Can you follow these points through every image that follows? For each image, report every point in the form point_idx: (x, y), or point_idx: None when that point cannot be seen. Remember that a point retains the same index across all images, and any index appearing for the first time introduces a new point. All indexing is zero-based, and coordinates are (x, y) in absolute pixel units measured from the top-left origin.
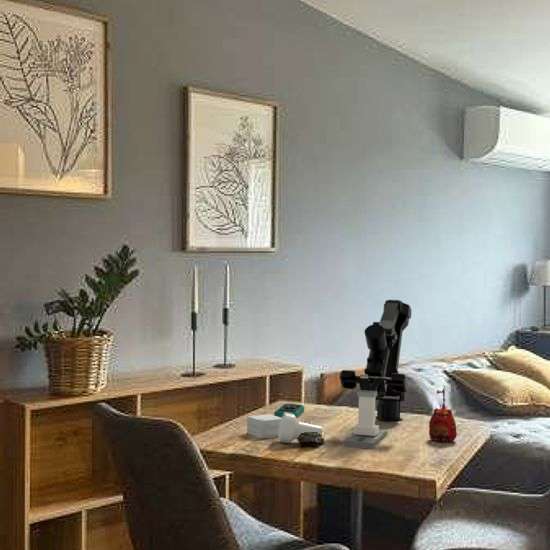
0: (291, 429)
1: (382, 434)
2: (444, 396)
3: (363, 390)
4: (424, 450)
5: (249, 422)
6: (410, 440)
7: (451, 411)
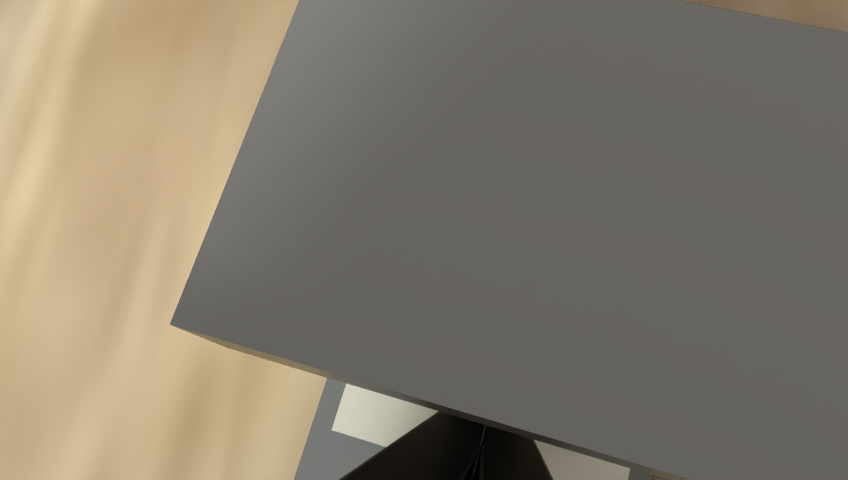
0: None
1: (313, 421)
2: None
3: (703, 406)
4: (39, 58)
5: None
6: (44, 433)
7: None
